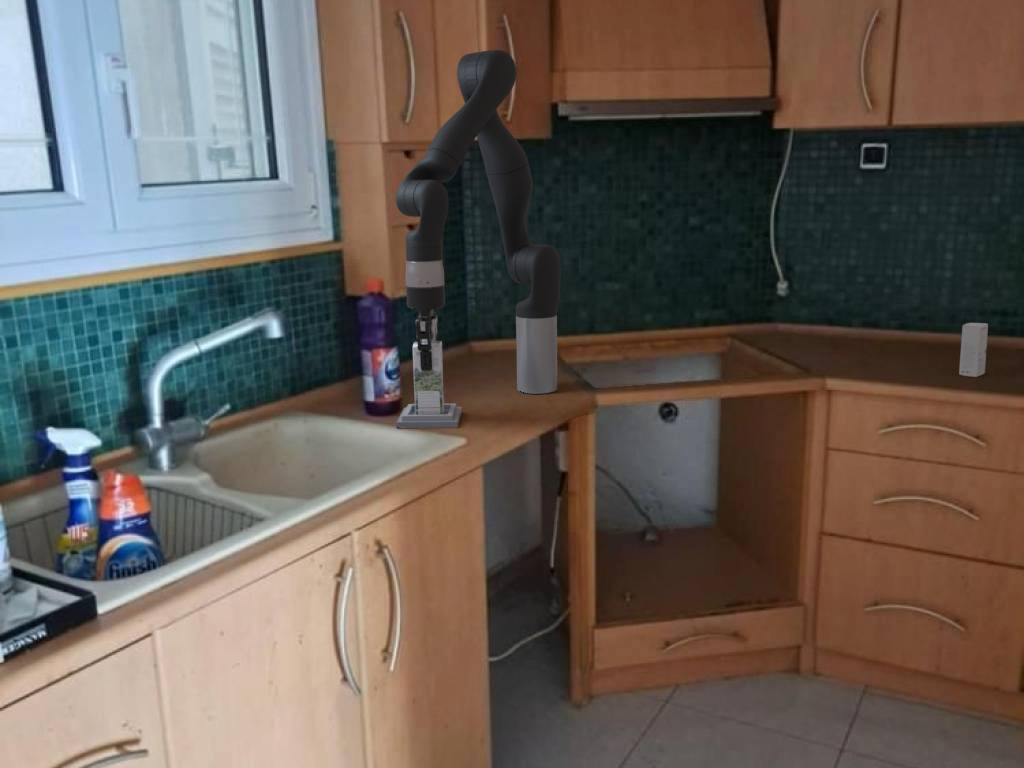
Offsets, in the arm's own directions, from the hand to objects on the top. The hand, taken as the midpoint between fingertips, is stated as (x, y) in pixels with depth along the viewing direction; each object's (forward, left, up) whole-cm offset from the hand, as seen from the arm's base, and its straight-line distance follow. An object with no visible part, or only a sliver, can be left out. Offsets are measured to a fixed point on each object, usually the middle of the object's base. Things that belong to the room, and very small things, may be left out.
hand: (428, 366), depth 188 cm
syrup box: (0, 0, -10) cm, 10 cm away
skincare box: (-37, +126, -11) cm, 132 cm away
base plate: (0, 0, -11) cm, 11 cm away
